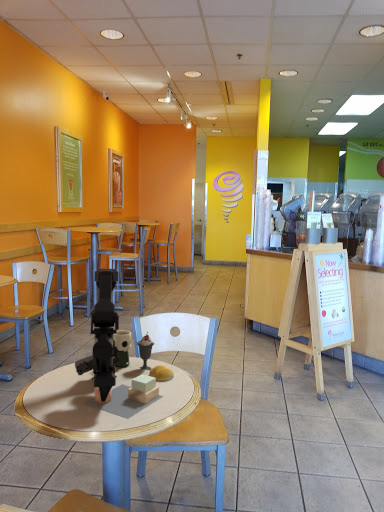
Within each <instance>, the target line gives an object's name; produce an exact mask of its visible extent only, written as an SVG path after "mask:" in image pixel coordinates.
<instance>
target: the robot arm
mask: <svg viewBox="0 0 384 512" xmlns="http://www.w3.org/2000/svg"><path fill="white" fill-rule="evenodd" d="M93 282H96V285H95V286H96V288H97V290H98V301H97V302H96V303H95V304H94V308H93V311H92V312H91V315H90V316H91V317H90V318H91V319H90V335H94V338H93V339H94V340H93V345H92V351H91V352H92V355H89V356H86V357H83V358H81V359H78V360H76V361H75V362H74V367H75V370H76V371H75V372H76V373H77V375H78V376H83V375H84V374H86V373H88V372H91V371H92V373H93V377H91V379H92V380H93V387H94V388H95V387H99V391H100V396H101V401H102V402H105V401H106V399H107V396H108V394H109V392H110V390H111V388H112V389H113V387H115V386H117V385H116V384H117V383H116V381H117V380H116V379H117V377H118V376H117V375H116V366H115V365H114V363H117V362H119V350H118V348H117V346H115V341H114V339H113V334H117V331H120V330H119V325H120V320H119V319H120V315H119V314H118V312H117V311H115V309H116V308H115V304H114V302H113V301H112V297H113V295H112V294H113V292H114V290H115V289H116V287H117V282H119V271H116V268H98V269H97V270H95V271H94V277H93Z"/></svg>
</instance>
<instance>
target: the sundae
mask: <svg viewBox="0 0 384 512" xmlns="http://www.w3.org/2000/svg"><path fill="white" fill-rule="evenodd" d="M148 333H149V332H148V331H146V333H145V335H144V336H142V338H141V340H139V341H137V342H136V346H138V349H139V350H138V351H139V358H140V359H142V361H143V363H142V366H140V367H138V368H139V369H140V370H142V371H151V369H152V367H151V366H148V365H147V363H148V360H149V359H150V358H151V356H152V351H153V350H152V349H153V346H154V345H155V342H154V341H153V340H152V339H151V337H150V335H149V334H148Z"/></svg>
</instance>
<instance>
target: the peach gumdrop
mask: <svg viewBox="0 0 384 512" xmlns="http://www.w3.org/2000/svg"><path fill="white" fill-rule="evenodd" d="M112 389H113V387H112V388H111V390H110V392H109V394H108V396H107V399H106V401H105V402H102V401H101V396H100V391H99V387H94V391H93V392H94V393H93V394H94V396H93V399H94V401H95V402H96V403H98V404H105V403H109V402H110V401H111V391H112Z"/></svg>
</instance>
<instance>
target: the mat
mask: <svg viewBox="0 0 384 512" xmlns="http://www.w3.org/2000/svg"><path fill="white" fill-rule="evenodd" d="M131 387H132V386H129V385H126V384H120V385H119V386H117V387H114V388H112V391H111V401H110V402H109V403H105V404H98V403H96V402H95V401H94V398H93V399H90V400H88V401H86V402H85V403H83V404H84V405H87V406H89V407H92V408H94V409H97V410H100V411H104V412H107V413H110V414H113V415H116V416H119V417H121V418H124V419H126V420H129V419H130V418H132V417H134V416H135V415H137V414H138V413H139V412H141V411H143V410H144V409H146V408H148V407H149V406H151V405H152V404H155V402H156V403H157V401H159V400H160V399H162V398H163V397H164V396H163V395H161V394H159V396H158V397H156V398H154V399H153V400H151V401H149V402H148V403H146V404H145V403H142V402H139V401H135V400H132V399H129V398H128V389H129V388H131Z"/></svg>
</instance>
